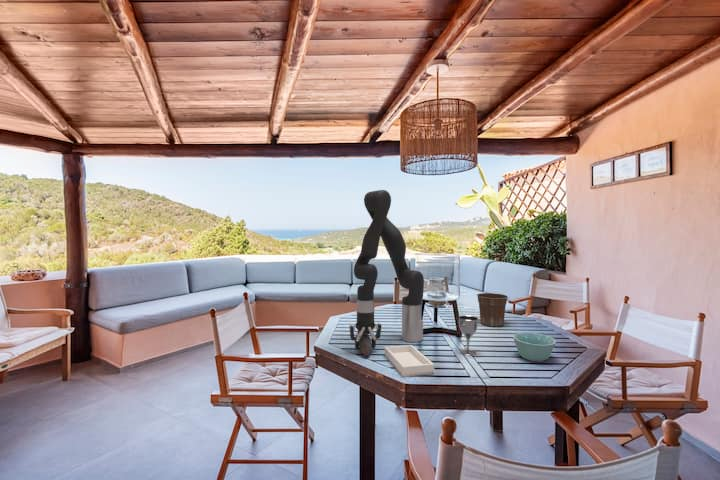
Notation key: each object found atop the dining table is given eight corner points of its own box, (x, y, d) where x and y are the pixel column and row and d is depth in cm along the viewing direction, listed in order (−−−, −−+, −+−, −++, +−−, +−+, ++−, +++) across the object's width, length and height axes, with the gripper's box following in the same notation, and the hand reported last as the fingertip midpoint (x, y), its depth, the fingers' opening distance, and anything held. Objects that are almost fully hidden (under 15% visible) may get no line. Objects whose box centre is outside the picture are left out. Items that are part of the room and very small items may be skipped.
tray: (411, 352, 149) (411, 344, 149) (434, 373, 128) (434, 364, 128) (384, 355, 146) (384, 347, 146) (403, 377, 125) (403, 367, 125)
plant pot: (474, 319, 204) (474, 292, 204) (502, 320, 202) (503, 293, 201) (479, 327, 188) (480, 297, 187) (511, 328, 186) (511, 298, 185)
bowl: (554, 368, 133) (554, 347, 133) (509, 360, 142) (510, 340, 141) (556, 355, 146) (556, 336, 146) (515, 348, 155) (516, 330, 155)
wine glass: (467, 356, 145) (468, 321, 144) (454, 350, 152) (454, 316, 151) (481, 353, 148) (482, 318, 148) (468, 348, 156) (468, 314, 155)
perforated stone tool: (373, 359, 142) (373, 342, 142) (360, 359, 142) (360, 342, 142) (370, 346, 157) (370, 331, 157) (358, 347, 157) (358, 331, 157)
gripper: (379, 307, 154) (378, 344, 155) (347, 309, 151) (347, 347, 152) (384, 311, 147) (384, 350, 148) (350, 313, 144) (350, 353, 144)
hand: (365, 348), depth 150 cm, fingers open, 6 cm apart
